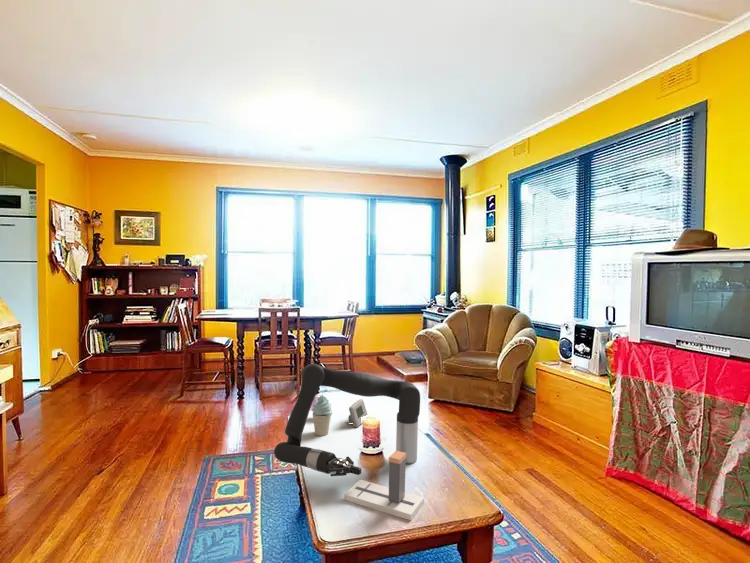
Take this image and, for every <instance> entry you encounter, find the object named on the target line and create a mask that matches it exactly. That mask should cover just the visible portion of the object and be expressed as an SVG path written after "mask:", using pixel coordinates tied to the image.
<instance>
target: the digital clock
mask: <svg viewBox="0 0 750 563" xmlns="http://www.w3.org/2000/svg"><path fill="white" fill-rule="evenodd" d="M348 410H349V415H348V421H347V424H348V423H353V424H354V425H353V426H354V428H358V427H360V426H361V425H362V424H361V417H363V416H366V415H368V416H369V414H368V411H367V409H366V406H365V401H364V400H363V398H360V399H359V400H356V402H354V403H353V404H351V406H349V408H348ZM360 424H361V425H360ZM359 425H360V426H359Z"/></svg>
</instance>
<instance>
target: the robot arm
mask: <svg viewBox="0 0 750 563" xmlns="http://www.w3.org/2000/svg"><path fill="white" fill-rule="evenodd" d="M300 373H301V379H302V380H301V386H300V391H299V394H298V397H297V399H296V401H295V404H294V406H293V408H292V410H291V412H290V415H289V418H288V421H287V423H286V426H285V429H284V433H285V435H286V436H287V441H283V442H279V443H278V444H276V446H275V447H274V450H273V453H274V454H273V455H274V457H275V459H277V460H278V461H279V462H283V463H287V464H288V463H289V464H295V465H299V466H302V467H304V468H309V469H310V470H313V471H316V472H320V473H323V474H327V475H329V474H330V477H340V476H341V477H342V476H347V475H350V474H354V475H356V476H360V475H361V474H362V468H361V467H359V466H356V465H354V464H355V461H353V460H352V459H351V457H350V456H345V458H342V457H337V456H336V454H335V453H333V452H331V451H326V450H323V449H318V448H317V449H316V448H312V447H308V446H301V445H302V435H303V432H304V430H305V425H306V424H307V420H308V417H309V414H310V410H311V409H312V408H311V407H312V405H313V403H314V399H315V397H316V395H317V393H318V391H319V389H320V387H329V388H333V389H336V390H339V391H342V392H344V393H348V394H352V395H356V396H359V397H368V398H370V397H388V398H392V399H395V400H398V403H399V404H398V412H397V413H396V430H395V431H396V440H395V442H396V443H395V445H396V446H395V451H400V452H404V453H406V464H414V463H415V462H417V461H418V437H419V436H418V434H419V433H418V432H419V431H418V430H419V428H418V427H419V416H420V410H421V392H420V390H419V388H417V387H416V385H414V384H413V383H412V382H409V381H404V380H395V379H394V380H392V379H387V378H383V377H380V376H376V375H370V374H366V373H362V372H356V371H347V370H336V369H332V368H328V367H326V366H325V367H324V366H322V365H319V364H317V363H310V364H307V365H306V366H304V367H303V369H302V370H301V372H300Z"/></svg>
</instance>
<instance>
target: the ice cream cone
mask: <svg viewBox="0 0 750 563" xmlns="http://www.w3.org/2000/svg"><path fill="white" fill-rule="evenodd" d="M316 400H317V401H316V402H314V404H313V407H312V408H311V412H312V420H313V426H314V427H313V428H314V434H315V435H316V436H320V437H321V436H322V437H323V436H327V435H328V434H329V430H330V422H331V418H332V417H331V416H332V415H331V413H332V414H333V410H332V403H330V400H329V399H328V398H327V397H326V396H324V394H320V395H319V396H318V397H316Z"/></svg>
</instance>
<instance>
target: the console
mask: <svg viewBox="0 0 750 563" xmlns="http://www.w3.org/2000/svg"><path fill="white" fill-rule="evenodd" d="M343 500H345V501H347V502H350V503H354V504H357V505H361V506H363V507H366V508H369V509H374V510H376V511H380V512H382V513H386V514H388V515H391V516H396V517H398V518H402V519H405V520H409V521H412V520H413V519H414V517H415V516H416V514H417V513H418V512H419V511H420V509H421V508H422V506H423V505H424V503H425V497H423V496H420V495H416V494H412V493H409V492H406V491H405V497H404V498H403V499H402V500H401V502H400V503H396V502H392V501H389V486H388V487H387V486H384V485H380V484H377V483H374V482H371V481H370V482H369V481H367V480H363V479H359V480H358V481H357V482H356V483H355V484H353V485H352V486H351V487H350V488H349V489H348V490H347V491H346V492H345V493H343Z"/></svg>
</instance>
